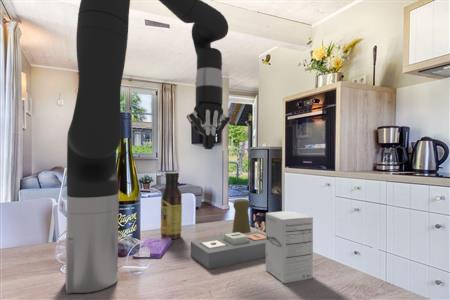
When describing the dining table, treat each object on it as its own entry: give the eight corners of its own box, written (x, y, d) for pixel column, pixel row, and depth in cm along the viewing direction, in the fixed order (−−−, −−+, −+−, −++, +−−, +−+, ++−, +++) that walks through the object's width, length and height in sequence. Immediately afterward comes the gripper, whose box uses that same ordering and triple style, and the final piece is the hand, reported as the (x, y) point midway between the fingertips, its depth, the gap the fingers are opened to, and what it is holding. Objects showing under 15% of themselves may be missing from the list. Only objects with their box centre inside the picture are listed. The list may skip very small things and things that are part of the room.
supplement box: (264, 270, 63) (264, 212, 64) (293, 265, 66) (293, 210, 66) (282, 284, 56) (282, 219, 57) (314, 278, 59) (314, 216, 59)
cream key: (209, 258, 67) (209, 247, 67) (201, 252, 71) (201, 242, 71) (225, 255, 69) (225, 244, 69) (217, 249, 73) (217, 239, 73)
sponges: (171, 244, 83) (171, 237, 83) (160, 260, 71) (160, 252, 71) (147, 244, 83) (147, 237, 83) (132, 260, 71) (132, 252, 71)
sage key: (233, 248, 70) (233, 238, 70) (224, 243, 74) (224, 233, 74) (248, 245, 72) (248, 235, 72) (238, 241, 76) (238, 231, 76)
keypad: (208, 269, 64) (208, 253, 64) (190, 255, 72) (190, 241, 72) (280, 253, 74) (280, 240, 74) (257, 243, 82) (257, 231, 82)
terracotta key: (254, 249, 73) (254, 239, 73) (245, 244, 77) (245, 235, 77) (268, 246, 75) (268, 237, 75) (258, 242, 79) (258, 233, 79)
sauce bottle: (159, 235, 91) (160, 171, 91) (179, 233, 93) (180, 171, 93) (161, 241, 85) (162, 172, 85) (183, 239, 86) (183, 172, 87)
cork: (251, 231, 96) (251, 198, 96) (250, 236, 90) (250, 200, 90) (232, 231, 96) (232, 197, 96) (231, 236, 90) (231, 200, 90)
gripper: (192, 81, 75) (191, 148, 74) (236, 87, 81) (235, 149, 81) (181, 87, 81) (181, 149, 81) (223, 92, 88) (222, 149, 87)
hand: (208, 149), depth 81 cm, fingers closed
